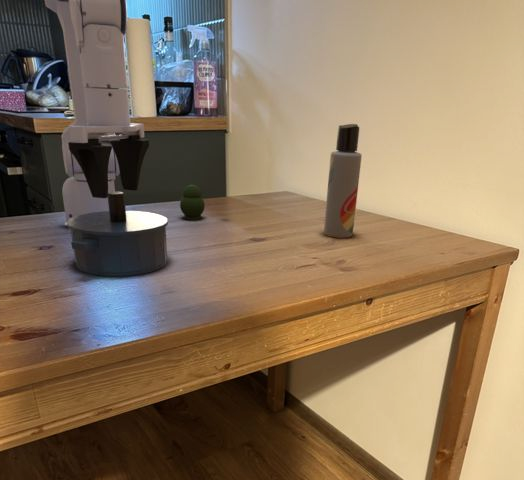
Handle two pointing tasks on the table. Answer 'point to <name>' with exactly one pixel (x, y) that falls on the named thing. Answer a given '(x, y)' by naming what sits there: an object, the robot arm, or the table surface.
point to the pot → (120, 253)
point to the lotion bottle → (343, 183)
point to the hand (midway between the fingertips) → (115, 193)
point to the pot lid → (117, 220)
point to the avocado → (192, 203)
